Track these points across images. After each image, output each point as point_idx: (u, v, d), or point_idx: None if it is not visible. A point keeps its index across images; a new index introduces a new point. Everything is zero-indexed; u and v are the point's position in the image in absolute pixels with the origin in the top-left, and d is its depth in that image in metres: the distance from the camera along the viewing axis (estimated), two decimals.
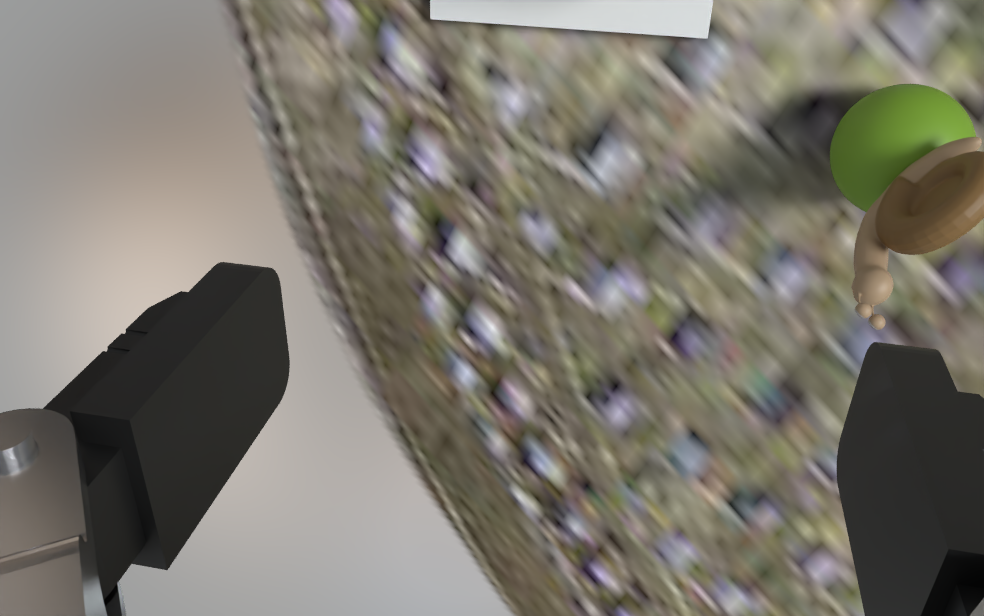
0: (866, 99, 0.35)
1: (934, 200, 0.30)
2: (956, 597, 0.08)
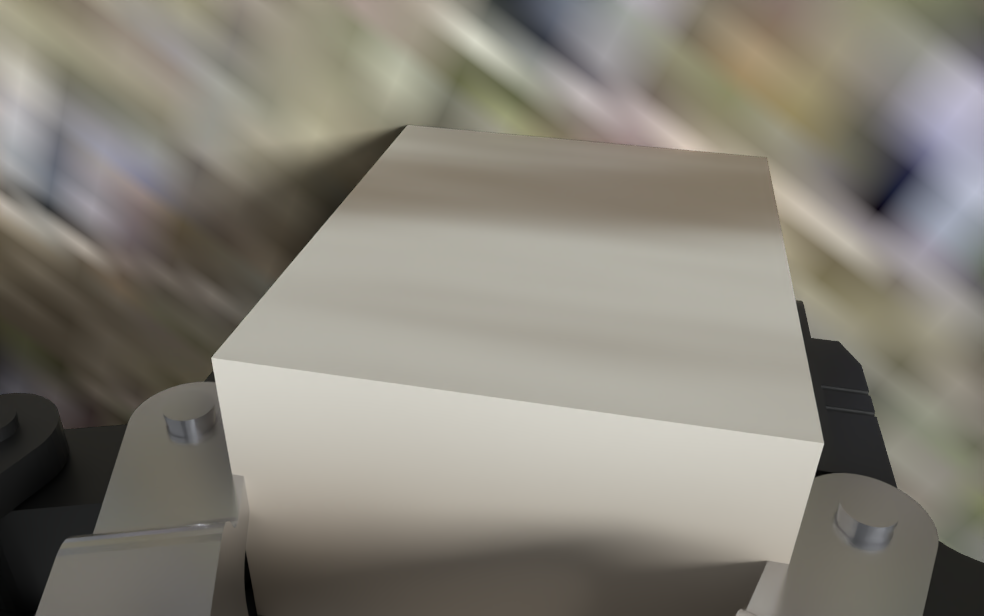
0: None
1: None
2: None
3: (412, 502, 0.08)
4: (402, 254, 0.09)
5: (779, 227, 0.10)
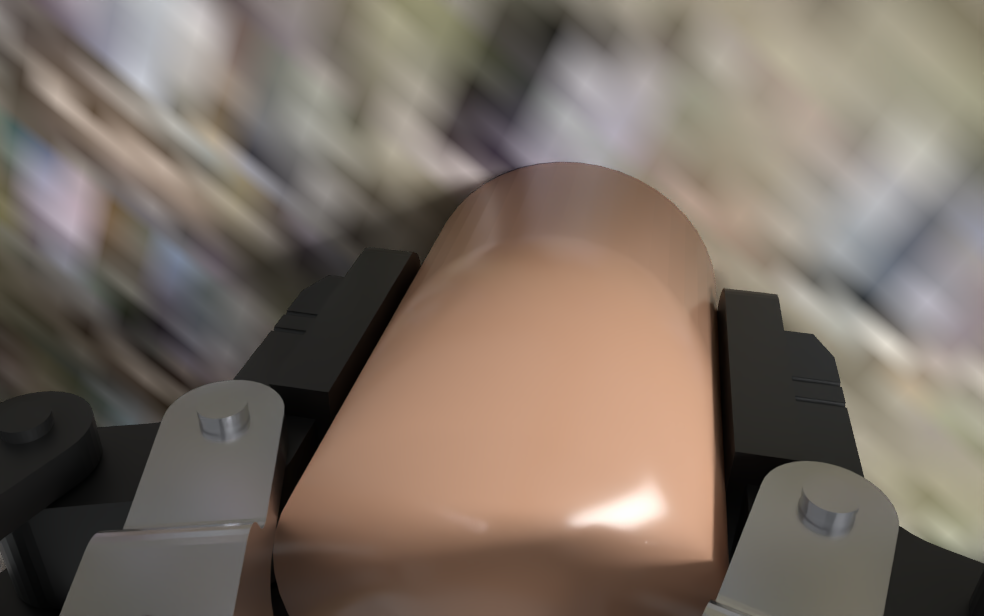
0: None
1: None
2: (748, 497, 0.09)
3: None
4: None
5: None
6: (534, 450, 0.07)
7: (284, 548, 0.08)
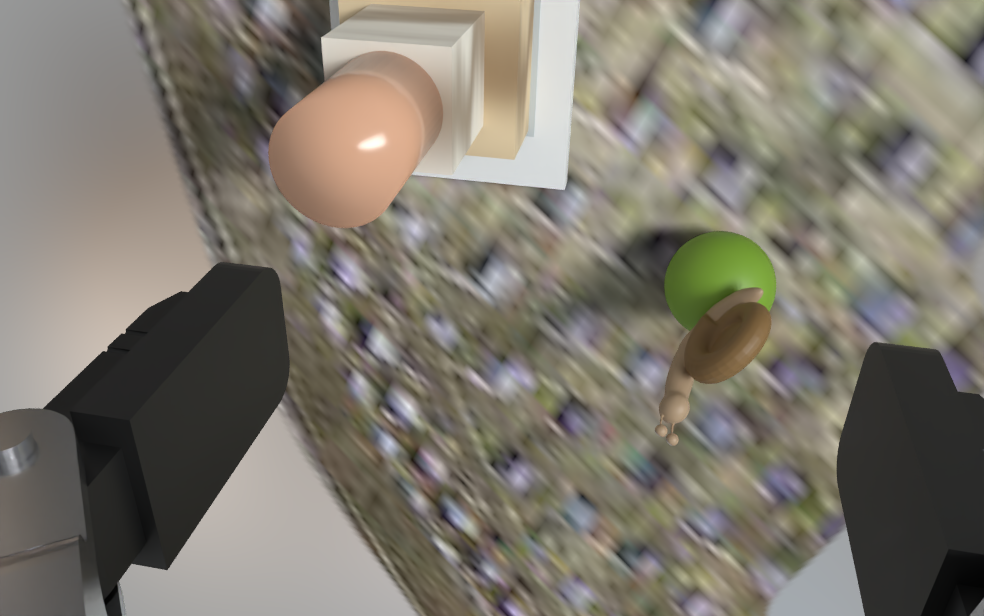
0: (688, 244, 0.43)
1: (723, 340, 0.39)
2: (956, 597, 0.08)
3: None
4: (366, 25, 0.34)
5: (473, 22, 0.34)
6: (336, 105, 0.27)
7: (271, 149, 0.28)
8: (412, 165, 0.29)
